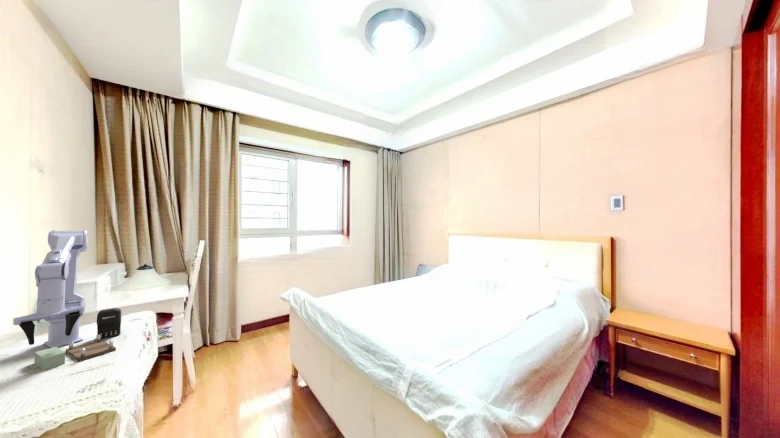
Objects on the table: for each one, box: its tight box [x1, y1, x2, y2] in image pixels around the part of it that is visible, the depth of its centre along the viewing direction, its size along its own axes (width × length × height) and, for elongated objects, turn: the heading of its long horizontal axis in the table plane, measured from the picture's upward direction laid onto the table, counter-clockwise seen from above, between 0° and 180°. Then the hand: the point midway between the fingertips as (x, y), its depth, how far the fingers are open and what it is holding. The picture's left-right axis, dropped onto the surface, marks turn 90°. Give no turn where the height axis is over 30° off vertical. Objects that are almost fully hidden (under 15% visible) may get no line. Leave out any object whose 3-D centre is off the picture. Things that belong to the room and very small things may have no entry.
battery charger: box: [96, 307, 123, 340], centre depth 109 cm, size 7×4×11 cm, turn 130°
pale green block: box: [33, 347, 66, 371], centre depth 89 cm, size 9×4×4 cm, turn 64°
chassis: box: [65, 334, 117, 362], centre depth 97 cm, size 14×9×4 cm, turn 64°
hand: (50, 339), depth 89 cm, fingers open, 7 cm apart
